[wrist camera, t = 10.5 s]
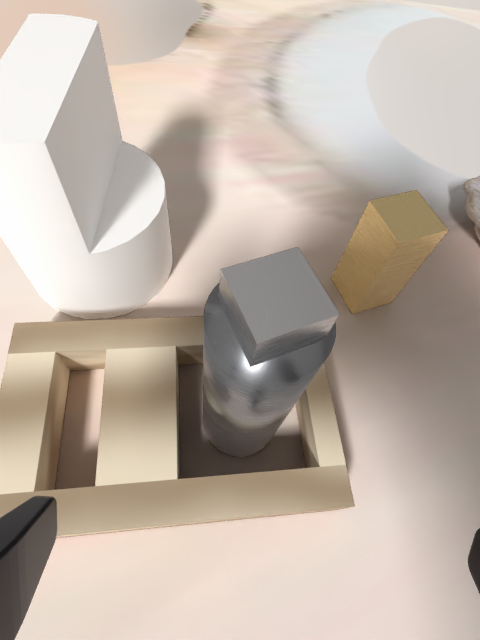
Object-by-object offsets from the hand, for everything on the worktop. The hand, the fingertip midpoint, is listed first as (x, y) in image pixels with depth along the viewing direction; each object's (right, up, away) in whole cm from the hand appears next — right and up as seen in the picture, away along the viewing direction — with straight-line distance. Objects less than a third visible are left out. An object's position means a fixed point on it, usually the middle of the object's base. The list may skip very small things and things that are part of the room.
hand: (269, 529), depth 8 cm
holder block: (-4, -1, +13) cm, 13 cm away
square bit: (+8, +6, +18) cm, 20 cm away
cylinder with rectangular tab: (-10, +8, +18) cm, 22 cm away
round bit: (-1, -1, +13) cm, 13 cm away
